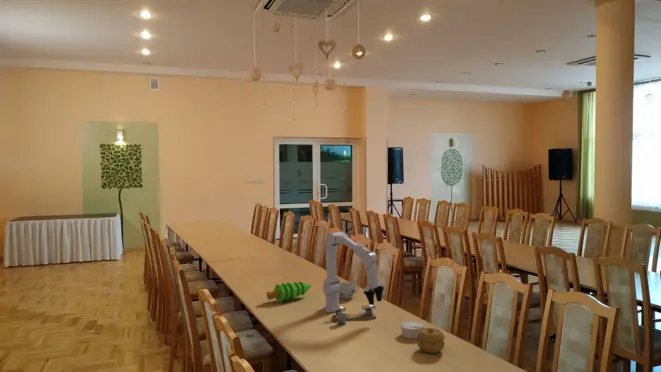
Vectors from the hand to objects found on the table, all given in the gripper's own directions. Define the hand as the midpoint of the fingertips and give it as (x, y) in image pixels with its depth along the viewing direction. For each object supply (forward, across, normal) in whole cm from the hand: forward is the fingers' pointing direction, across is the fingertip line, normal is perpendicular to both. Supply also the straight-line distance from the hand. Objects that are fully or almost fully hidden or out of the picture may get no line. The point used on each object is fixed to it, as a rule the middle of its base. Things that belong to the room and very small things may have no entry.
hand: (375, 302), depth 247 cm
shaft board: (+8, +1, +15) cm, 17 cm away
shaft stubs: (+7, +1, +15) cm, 16 cm away
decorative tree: (+1, +8, +63) cm, 64 cm away
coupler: (+9, -11, +15) cm, 20 cm away
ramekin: (+14, -5, -21) cm, 26 cm away
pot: (+16, -17, -36) cm, 43 cm away
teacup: (+4, +30, +38) cm, 48 cm away
